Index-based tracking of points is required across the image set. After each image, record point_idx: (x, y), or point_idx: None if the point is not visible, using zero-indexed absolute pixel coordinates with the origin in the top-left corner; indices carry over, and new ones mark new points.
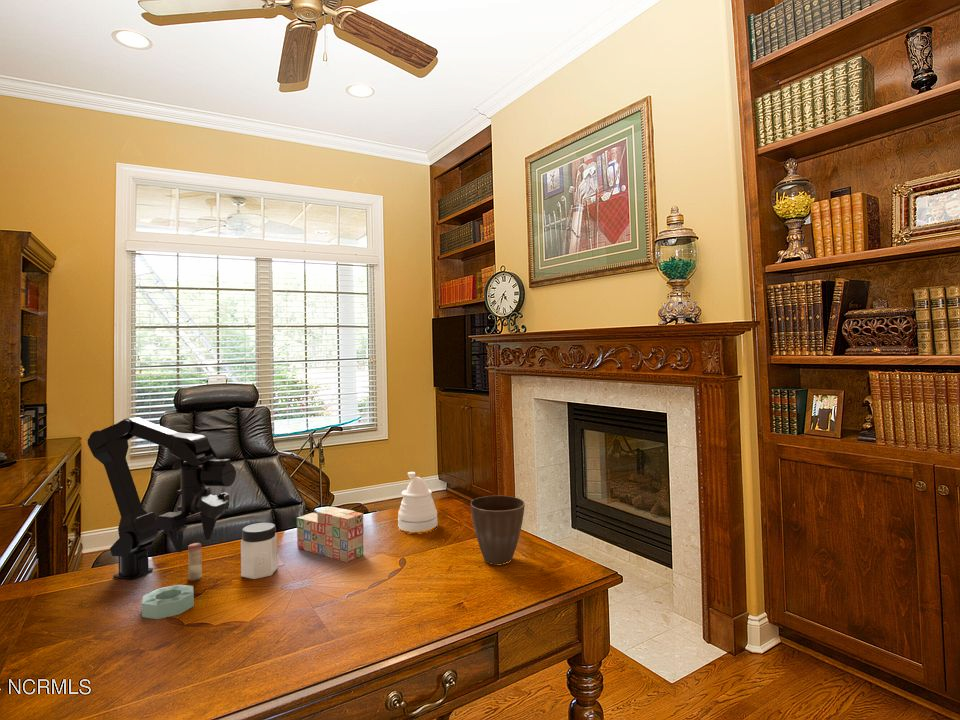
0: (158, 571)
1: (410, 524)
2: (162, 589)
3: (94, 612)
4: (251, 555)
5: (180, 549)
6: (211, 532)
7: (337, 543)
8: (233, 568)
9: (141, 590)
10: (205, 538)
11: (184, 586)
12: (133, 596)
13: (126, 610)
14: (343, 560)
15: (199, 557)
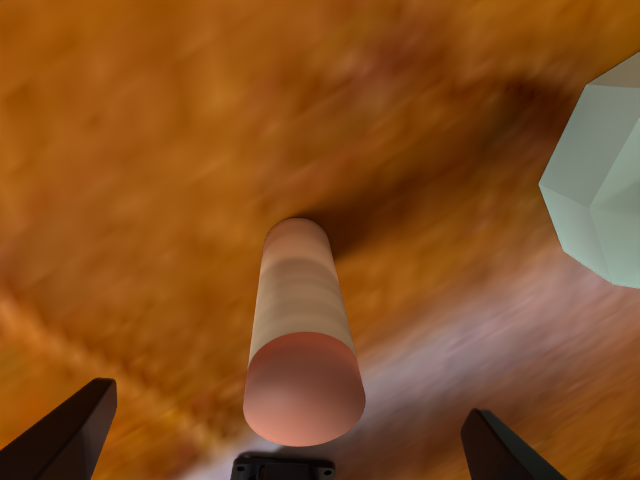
0: (238, 435)
1: None
2: (637, 255)
3: (598, 398)
4: None
5: (512, 431)
6: (36, 441)
7: None
8: (111, 92)
9: (431, 379)
10: (111, 421)
11: (635, 152)
12: (486, 371)
13: (618, 316)
14: None
15: (313, 287)
